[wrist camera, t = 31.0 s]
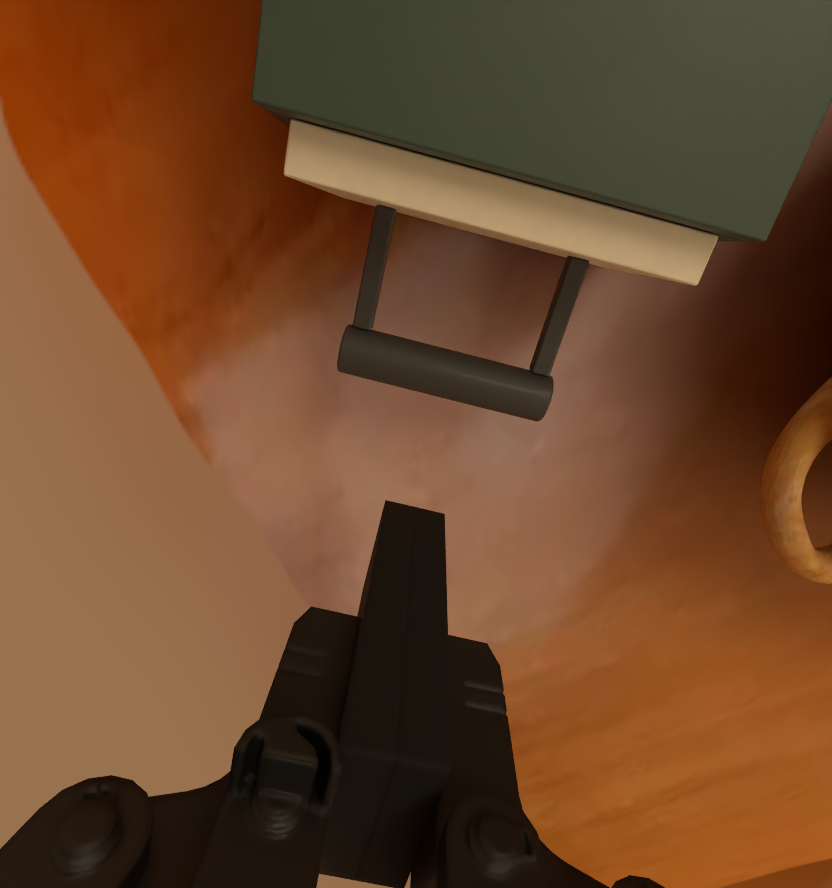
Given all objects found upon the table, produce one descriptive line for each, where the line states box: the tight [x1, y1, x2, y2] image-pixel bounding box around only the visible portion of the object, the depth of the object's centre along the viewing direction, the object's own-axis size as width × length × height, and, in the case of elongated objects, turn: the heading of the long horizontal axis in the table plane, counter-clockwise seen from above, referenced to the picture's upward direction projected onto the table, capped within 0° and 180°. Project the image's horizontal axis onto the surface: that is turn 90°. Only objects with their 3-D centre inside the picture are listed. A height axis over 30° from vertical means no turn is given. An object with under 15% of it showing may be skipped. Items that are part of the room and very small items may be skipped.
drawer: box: [284, 119, 718, 421], centre depth 15 cm, size 18×10×8 cm, turn 166°
